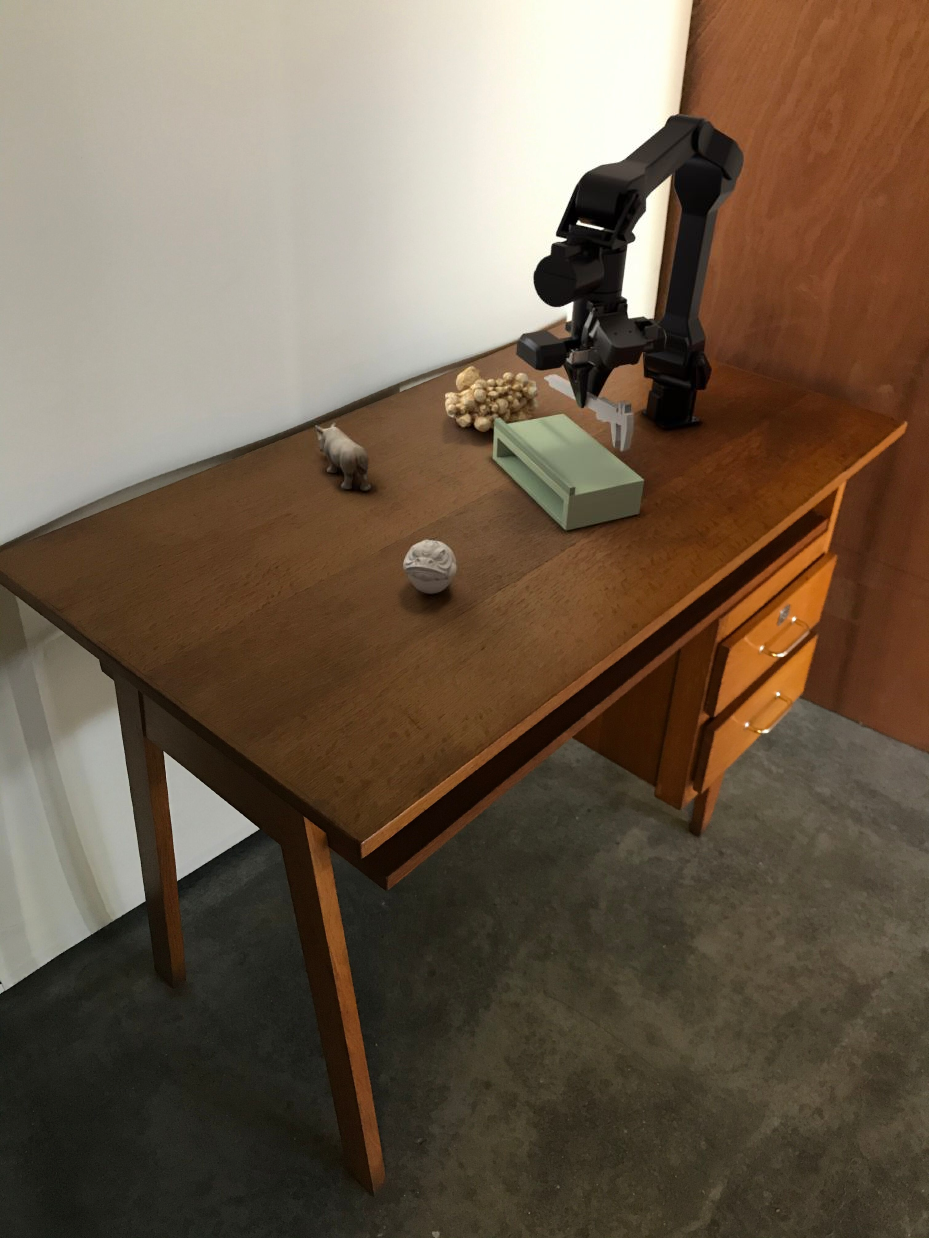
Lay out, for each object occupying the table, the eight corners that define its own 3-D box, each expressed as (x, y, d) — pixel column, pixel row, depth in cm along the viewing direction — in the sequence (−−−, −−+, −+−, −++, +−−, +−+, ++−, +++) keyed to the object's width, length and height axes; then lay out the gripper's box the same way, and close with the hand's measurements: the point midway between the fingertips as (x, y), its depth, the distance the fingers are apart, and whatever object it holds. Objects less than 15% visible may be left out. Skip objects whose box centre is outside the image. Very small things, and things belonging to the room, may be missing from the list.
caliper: (629, 453, 124) (638, 408, 120) (621, 455, 124) (630, 409, 120) (550, 379, 138) (555, 336, 134) (543, 380, 138) (548, 337, 134)
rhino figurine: (333, 447, 143) (331, 408, 140) (376, 489, 134) (375, 449, 130) (307, 453, 141) (304, 414, 138) (348, 496, 132) (346, 455, 128)
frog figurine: (396, 604, 113) (395, 552, 109) (412, 570, 118) (411, 520, 114) (449, 612, 112) (450, 560, 108) (462, 577, 118) (463, 527, 113)
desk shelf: (560, 445, 146) (564, 405, 142) (639, 514, 130) (645, 471, 127) (492, 458, 142) (494, 418, 138) (565, 531, 127) (570, 487, 123)
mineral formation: (545, 420, 152) (491, 450, 141) (472, 411, 159) (416, 439, 148) (543, 367, 148) (488, 394, 138) (469, 360, 155) (410, 385, 145)
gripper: (564, 317, 112) (553, 444, 121) (701, 298, 118) (680, 420, 128) (518, 286, 120) (510, 408, 129) (649, 270, 126) (632, 387, 136)
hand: (585, 406), depth 130 cm, fingers closed on caliper, 1 cm apart
